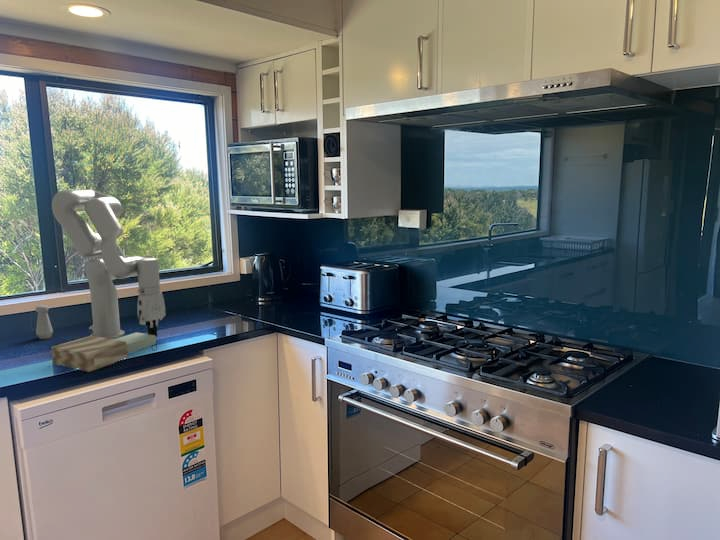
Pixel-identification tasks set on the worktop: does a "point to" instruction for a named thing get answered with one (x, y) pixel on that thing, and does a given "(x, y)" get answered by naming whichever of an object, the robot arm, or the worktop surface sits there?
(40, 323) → the salt shaker
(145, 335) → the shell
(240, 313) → the worktop surface
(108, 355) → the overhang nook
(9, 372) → the worktop surface
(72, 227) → the robot arm
